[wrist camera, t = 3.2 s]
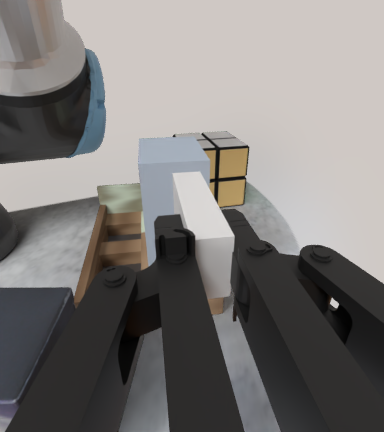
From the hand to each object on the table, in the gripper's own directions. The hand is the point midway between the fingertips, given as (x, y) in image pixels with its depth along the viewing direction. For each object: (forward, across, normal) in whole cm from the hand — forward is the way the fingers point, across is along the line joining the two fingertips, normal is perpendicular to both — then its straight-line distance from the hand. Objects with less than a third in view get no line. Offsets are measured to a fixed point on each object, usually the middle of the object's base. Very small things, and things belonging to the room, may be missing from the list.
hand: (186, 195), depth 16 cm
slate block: (+9, 0, -13) cm, 15 cm away
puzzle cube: (+31, +8, -15) cm, 35 cm away
